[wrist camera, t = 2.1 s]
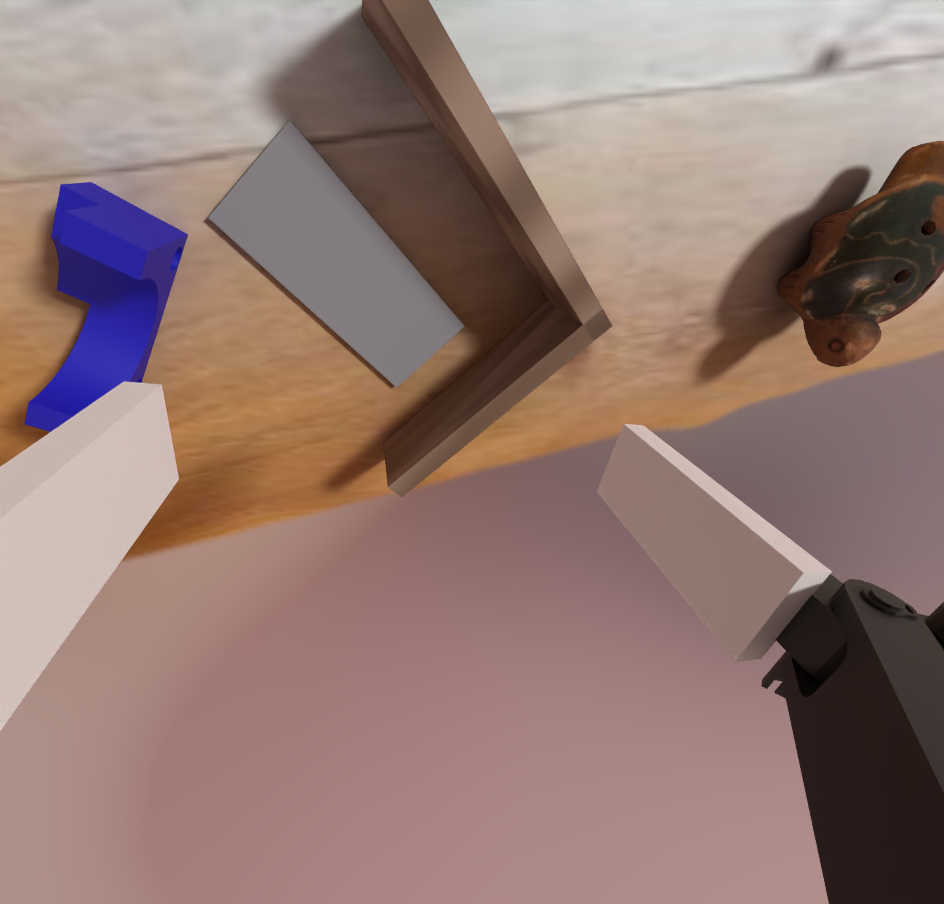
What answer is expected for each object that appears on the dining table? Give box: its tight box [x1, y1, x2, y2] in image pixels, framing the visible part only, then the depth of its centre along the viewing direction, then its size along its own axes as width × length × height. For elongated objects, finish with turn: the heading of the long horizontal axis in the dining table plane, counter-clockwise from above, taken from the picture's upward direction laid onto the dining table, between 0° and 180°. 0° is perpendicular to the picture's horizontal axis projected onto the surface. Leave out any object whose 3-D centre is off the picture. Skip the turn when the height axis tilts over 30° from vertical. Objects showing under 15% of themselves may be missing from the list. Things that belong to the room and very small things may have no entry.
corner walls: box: [362, 0, 612, 497], centre depth 25 cm, size 20×19×6 cm
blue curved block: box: [25, 182, 188, 432], centre depth 23 cm, size 12×4×6 cm, turn 145°
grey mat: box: [208, 120, 465, 388], centre depth 27 cm, size 15×7×1 cm, turn 39°
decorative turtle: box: [777, 141, 944, 367], centre depth 31 cm, size 10×15×8 cm, turn 171°
